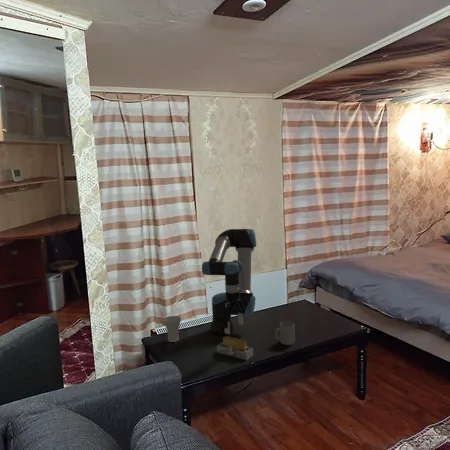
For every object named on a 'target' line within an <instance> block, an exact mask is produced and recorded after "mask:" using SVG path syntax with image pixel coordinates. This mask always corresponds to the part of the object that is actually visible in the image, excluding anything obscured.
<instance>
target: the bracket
mask: <svg viewBox="0 0 450 450" xmlns="http://www.w3.org/2000/svg"><path fill="white" fill-rule="evenodd" d="M216 352H217V354H221V355H225V356H228V357H233V358H237V359H240V360H245V361H249V359H250V358H251V357H253V356H254V347H251V346H247V350H246V351H241V350H240V349H236V350H235V352H232V347H225V346H224V345H223V341H222V342H220V343H219V344H217V345H216Z"/></svg>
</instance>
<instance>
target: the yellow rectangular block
mask: <svg viewBox="0 0 450 450" xmlns="http://www.w3.org/2000/svg"><path fill="white" fill-rule="evenodd" d="M222 342H223V345H224V346H225V347H232V352H235V350H236V349H240V350H241V351H246V350H247V347H248V340H245V339H242V338H241V339H240V338H237V337H232V336H229V335H224V336H223V337H222Z"/></svg>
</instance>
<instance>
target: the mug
mask: <svg viewBox="0 0 450 450" xmlns="http://www.w3.org/2000/svg"><path fill="white" fill-rule="evenodd" d="M295 327H296V325H295V323H294V322H293V321H288V320H287V321H285V320H284V321H282V322H280V323H279V327H278V328H276V329H275V332H274V334H275V339H276V340H278V341H279V343H280V344H282V345H284V346H291V345H294V344H295V343H296V334H295V333H296V330H295V329H296V328H295ZM278 332H279V336H278Z"/></svg>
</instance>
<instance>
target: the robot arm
mask: <svg viewBox="0 0 450 450" xmlns="http://www.w3.org/2000/svg"><path fill="white" fill-rule="evenodd" d="M230 248H235V251H236V253H237V260H236V259H234V260H232V261H223V260H224V258H225V255H226V252H227V251H228V249H230ZM255 248H257V236H256V233H255V229H252V228H234V229H233V228H229V229H225V230H224V231H222V232H221V233H220V234H218V235H217V237H216V239H215V242H214V247H213V250H212V252H211V255H210V257H209V260H208V261H203V262H202V265H201V272H202V275H204V276H224V281H225V282H224V283H225V284H224V287H225V289H224V291H225V292H220V293H219V292H218V293H216V294H214V295H213V296H212V297H211V306H212V307H211V312H212V321H211V324H210V333H211V334H213V335H218V336H227V335H230V334H232V333H234V332H235V324H234V322H233V319H232V316H237V321H238V322H237V323H238V324H237V325H240V326H243V325H244V317H245V316H252V315H253V314H254V312H255V307H256V296H255V295H254V293H253V292H252V289H251V288H252V286H251V285H252V283H251V282H252V253H253V252H254V250H255Z"/></svg>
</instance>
